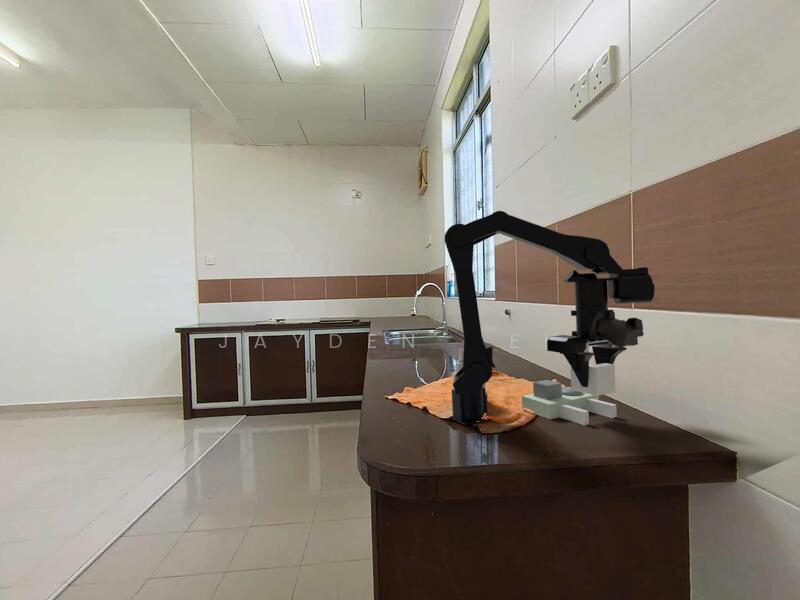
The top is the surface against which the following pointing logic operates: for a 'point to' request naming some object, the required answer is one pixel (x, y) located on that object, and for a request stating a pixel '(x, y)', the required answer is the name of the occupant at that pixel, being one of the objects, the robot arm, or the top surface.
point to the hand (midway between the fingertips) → (594, 384)
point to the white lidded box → (596, 380)
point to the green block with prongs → (565, 403)
